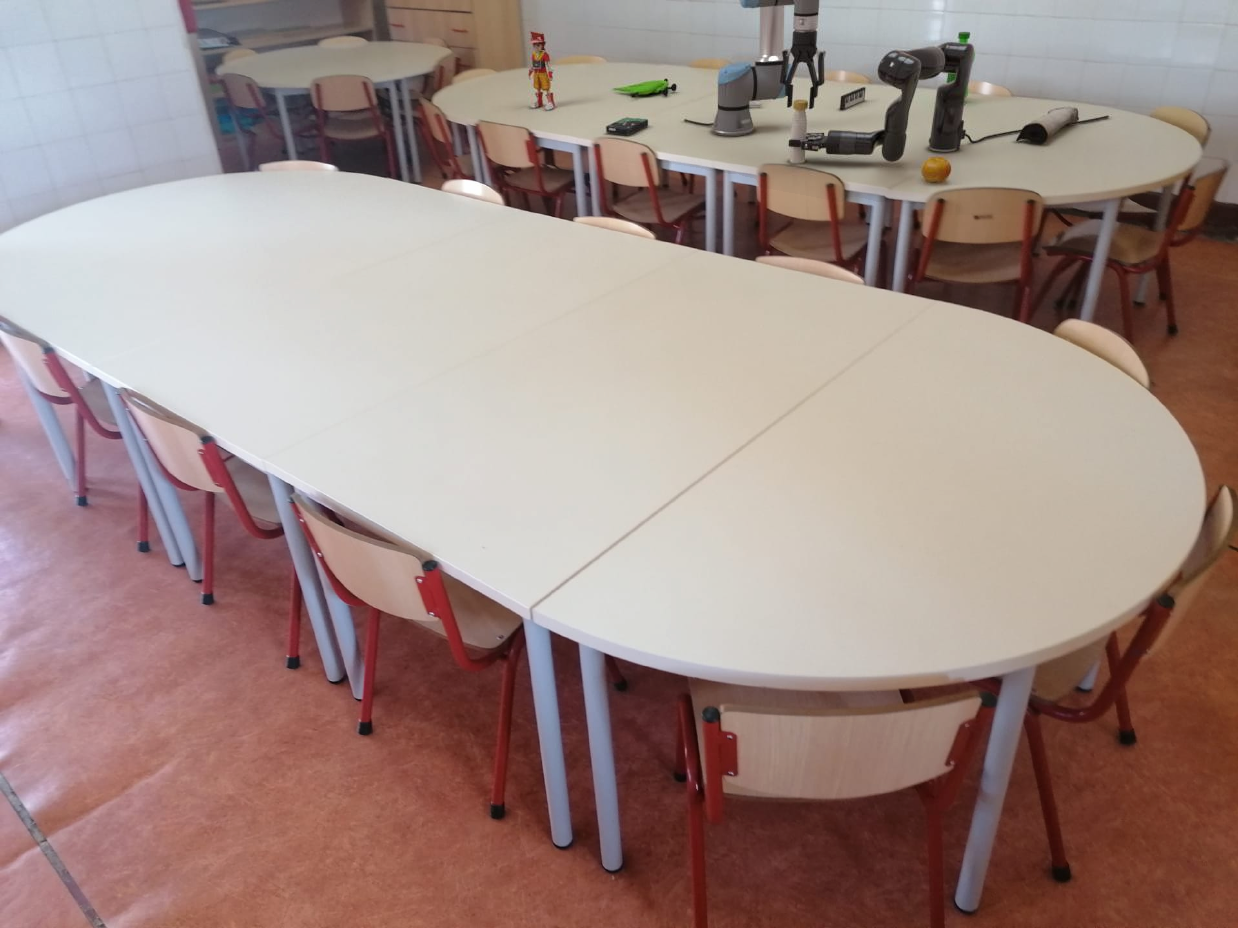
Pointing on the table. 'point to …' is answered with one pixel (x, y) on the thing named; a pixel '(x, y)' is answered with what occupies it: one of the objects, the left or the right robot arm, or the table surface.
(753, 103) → the anatomical model
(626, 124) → the disk drive
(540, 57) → the toy
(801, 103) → the cap
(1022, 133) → the rolled mat
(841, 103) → the midi keyboard
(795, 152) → the bottle
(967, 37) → the plastic bottle
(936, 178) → the fruit
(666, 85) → the toy
